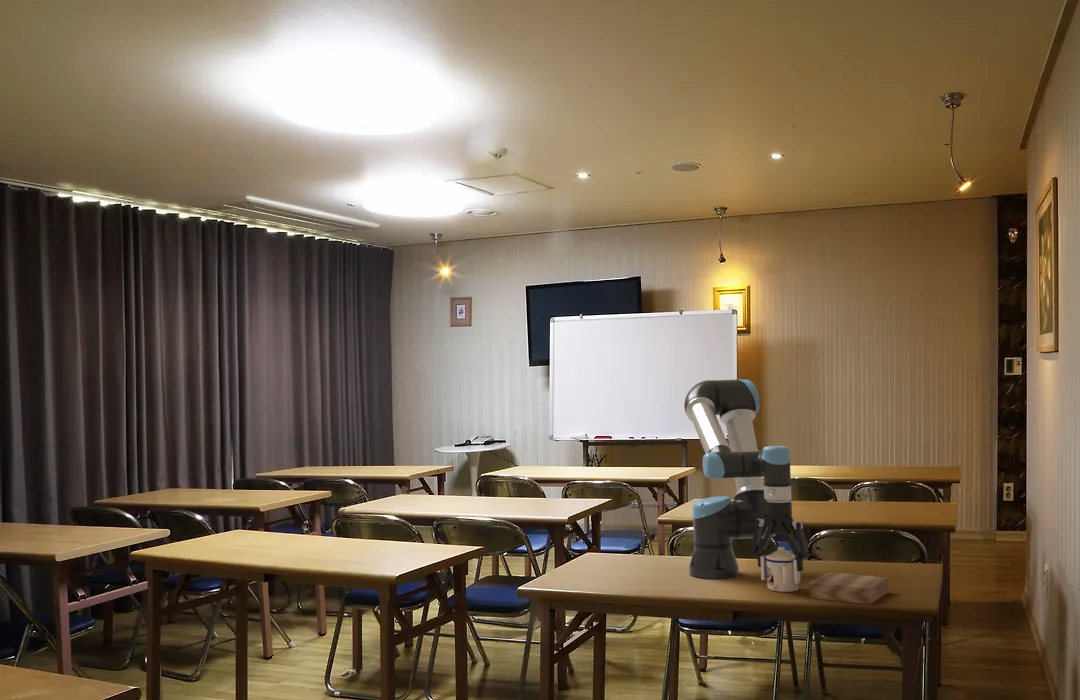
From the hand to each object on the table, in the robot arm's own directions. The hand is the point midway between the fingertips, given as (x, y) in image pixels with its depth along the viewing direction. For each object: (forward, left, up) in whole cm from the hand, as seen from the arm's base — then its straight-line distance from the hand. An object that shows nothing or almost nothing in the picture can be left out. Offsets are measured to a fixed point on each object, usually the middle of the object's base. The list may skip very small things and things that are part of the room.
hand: (780, 580), depth 254 cm
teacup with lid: (+1, 0, -3) cm, 3 cm away
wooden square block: (+18, +3, -2) cm, 19 cm away
